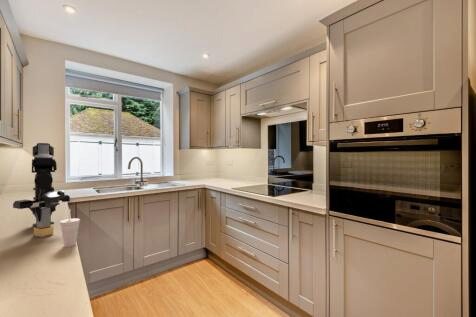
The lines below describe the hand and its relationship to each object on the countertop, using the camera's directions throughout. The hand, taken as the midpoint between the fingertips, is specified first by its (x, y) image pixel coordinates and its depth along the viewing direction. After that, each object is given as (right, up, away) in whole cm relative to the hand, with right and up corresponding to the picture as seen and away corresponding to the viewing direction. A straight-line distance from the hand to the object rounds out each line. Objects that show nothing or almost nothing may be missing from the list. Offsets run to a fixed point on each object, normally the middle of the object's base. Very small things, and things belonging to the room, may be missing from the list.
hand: (43, 220), depth 100 cm
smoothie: (+20, -7, -11) cm, 24 cm away
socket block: (0, -6, 0) cm, 6 cm away
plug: (0, -2, 0) cm, 2 cm away
